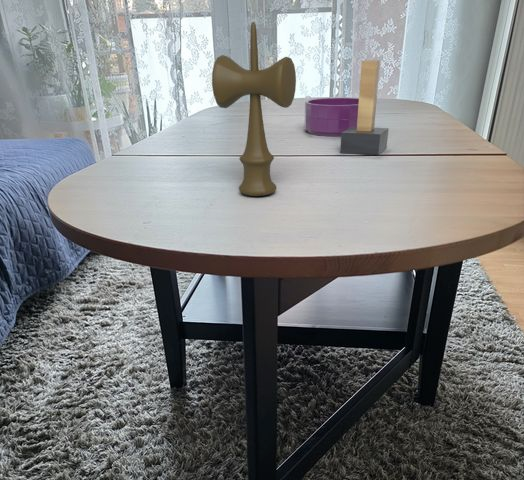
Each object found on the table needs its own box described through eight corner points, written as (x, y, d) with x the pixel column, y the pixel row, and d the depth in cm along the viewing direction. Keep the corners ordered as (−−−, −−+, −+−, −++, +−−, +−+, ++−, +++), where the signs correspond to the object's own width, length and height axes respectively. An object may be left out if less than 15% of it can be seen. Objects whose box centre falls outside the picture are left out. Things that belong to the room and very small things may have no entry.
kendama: (235, 185, 74) (226, 23, 63) (297, 190, 71) (300, 20, 60) (216, 196, 69) (204, 22, 59) (283, 202, 66) (283, 20, 56)
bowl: (361, 125, 119) (363, 97, 115) (376, 135, 107) (379, 104, 103) (301, 127, 118) (301, 98, 115) (309, 138, 106) (310, 106, 103)
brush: (350, 146, 98) (356, 59, 90) (386, 148, 95) (395, 59, 87) (340, 153, 92) (345, 61, 84) (378, 155, 90) (387, 61, 82)
